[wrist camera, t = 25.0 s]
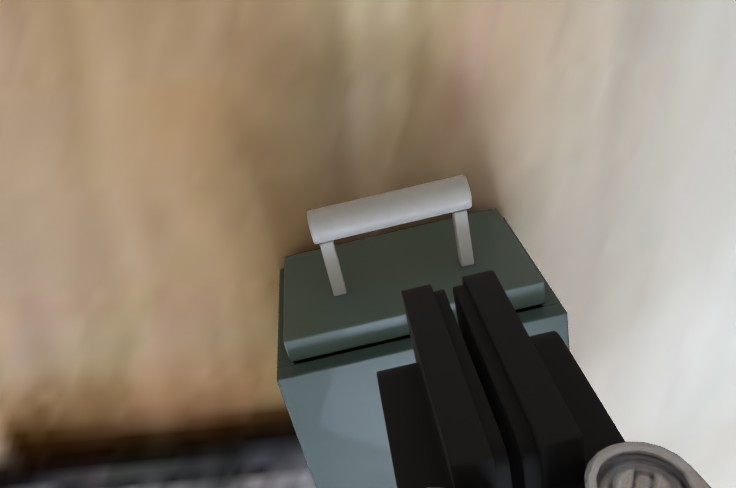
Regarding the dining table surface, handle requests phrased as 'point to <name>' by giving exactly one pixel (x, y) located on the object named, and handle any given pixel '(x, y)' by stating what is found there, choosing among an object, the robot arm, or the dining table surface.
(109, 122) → the dining table surface
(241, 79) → the dining table surface
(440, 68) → the dining table surface
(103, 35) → the dining table surface
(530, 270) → the drawer
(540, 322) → the cabinet
